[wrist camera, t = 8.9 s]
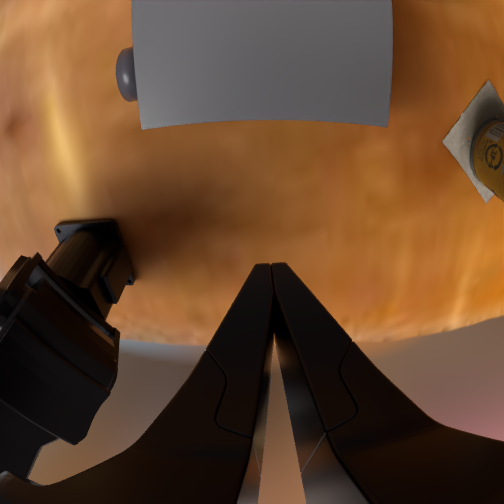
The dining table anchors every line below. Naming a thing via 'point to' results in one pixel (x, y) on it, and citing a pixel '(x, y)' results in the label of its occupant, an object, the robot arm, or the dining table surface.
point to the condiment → (481, 142)
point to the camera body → (259, 61)
